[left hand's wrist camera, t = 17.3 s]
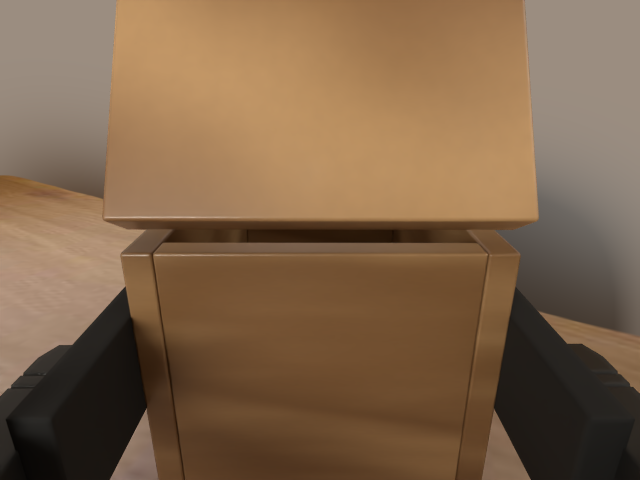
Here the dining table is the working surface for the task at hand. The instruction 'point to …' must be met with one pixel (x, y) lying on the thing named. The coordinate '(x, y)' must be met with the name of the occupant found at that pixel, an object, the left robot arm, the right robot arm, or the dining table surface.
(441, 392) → the chest
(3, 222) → the dining table surface
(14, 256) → the dining table surface
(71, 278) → the dining table surface
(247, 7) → the lid
